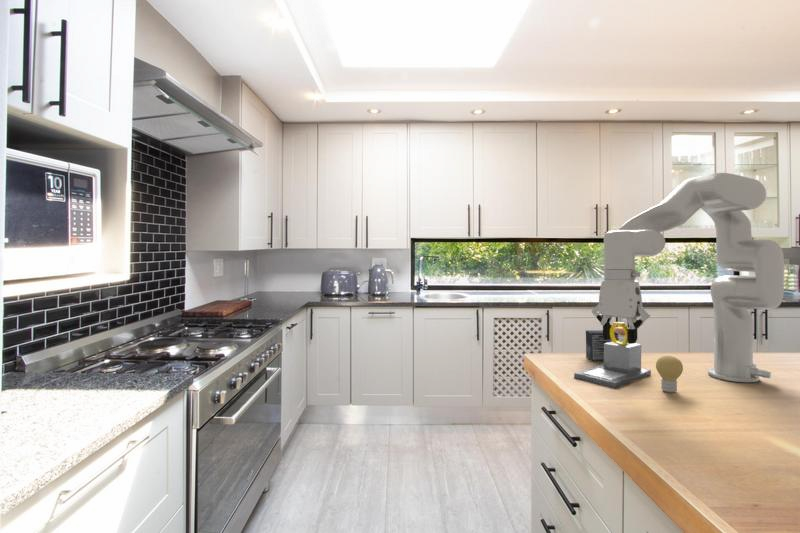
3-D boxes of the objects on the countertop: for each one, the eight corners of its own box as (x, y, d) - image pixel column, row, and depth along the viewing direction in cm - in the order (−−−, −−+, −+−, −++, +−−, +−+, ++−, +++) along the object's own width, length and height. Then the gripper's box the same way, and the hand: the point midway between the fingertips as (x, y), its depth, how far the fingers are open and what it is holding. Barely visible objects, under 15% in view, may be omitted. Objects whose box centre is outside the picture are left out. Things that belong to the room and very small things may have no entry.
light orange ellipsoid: (632, 351, 137) (632, 328, 136) (626, 353, 134) (626, 329, 134) (619, 349, 140) (619, 326, 140) (612, 351, 138) (612, 327, 137)
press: (650, 374, 135) (651, 345, 135) (615, 388, 122) (615, 355, 122) (610, 366, 146) (610, 338, 145) (574, 377, 133) (574, 347, 132)
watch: (607, 343, 118) (606, 321, 119) (615, 342, 119) (614, 321, 119) (624, 346, 113) (623, 323, 113) (633, 345, 113) (631, 322, 114)
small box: (614, 357, 158) (614, 329, 157) (622, 362, 151) (622, 333, 151) (585, 357, 159) (585, 329, 158) (591, 361, 152) (591, 332, 152)
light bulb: (674, 396, 115) (674, 359, 114) (650, 389, 120) (651, 355, 120) (687, 392, 117) (687, 357, 117) (664, 386, 123) (664, 352, 123)
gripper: (659, 276, 111) (659, 344, 111) (596, 274, 125) (596, 334, 125) (646, 277, 106) (646, 348, 107) (582, 275, 120) (582, 338, 121)
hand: (619, 340), depth 116 cm, fingers closed on watch, 5 cm apart
